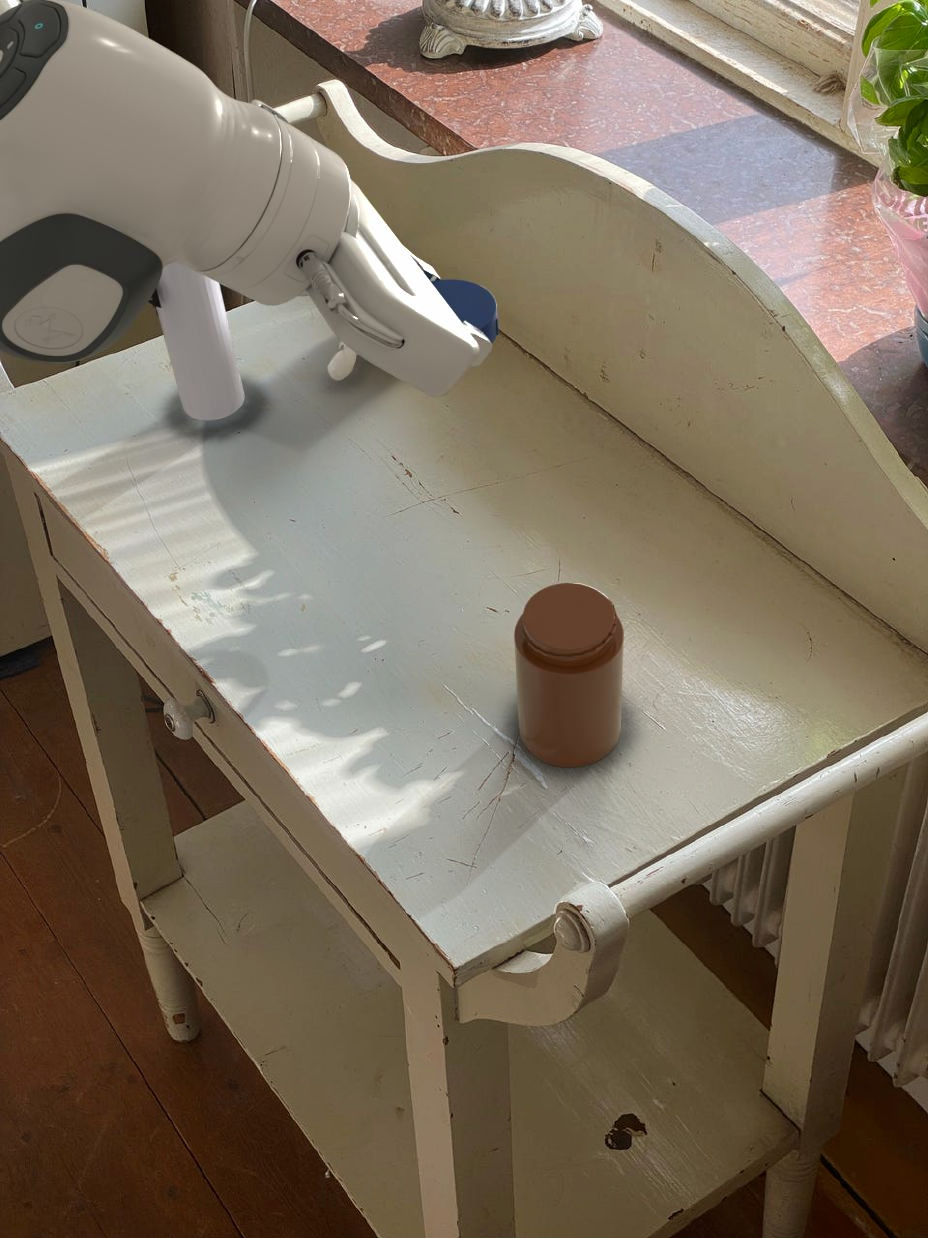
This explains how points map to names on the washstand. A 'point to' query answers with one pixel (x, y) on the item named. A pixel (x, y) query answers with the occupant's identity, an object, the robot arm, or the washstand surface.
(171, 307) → the perfume bottle
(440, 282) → the jar lid
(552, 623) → the jar
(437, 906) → the washstand surface
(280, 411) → the washstand surface
